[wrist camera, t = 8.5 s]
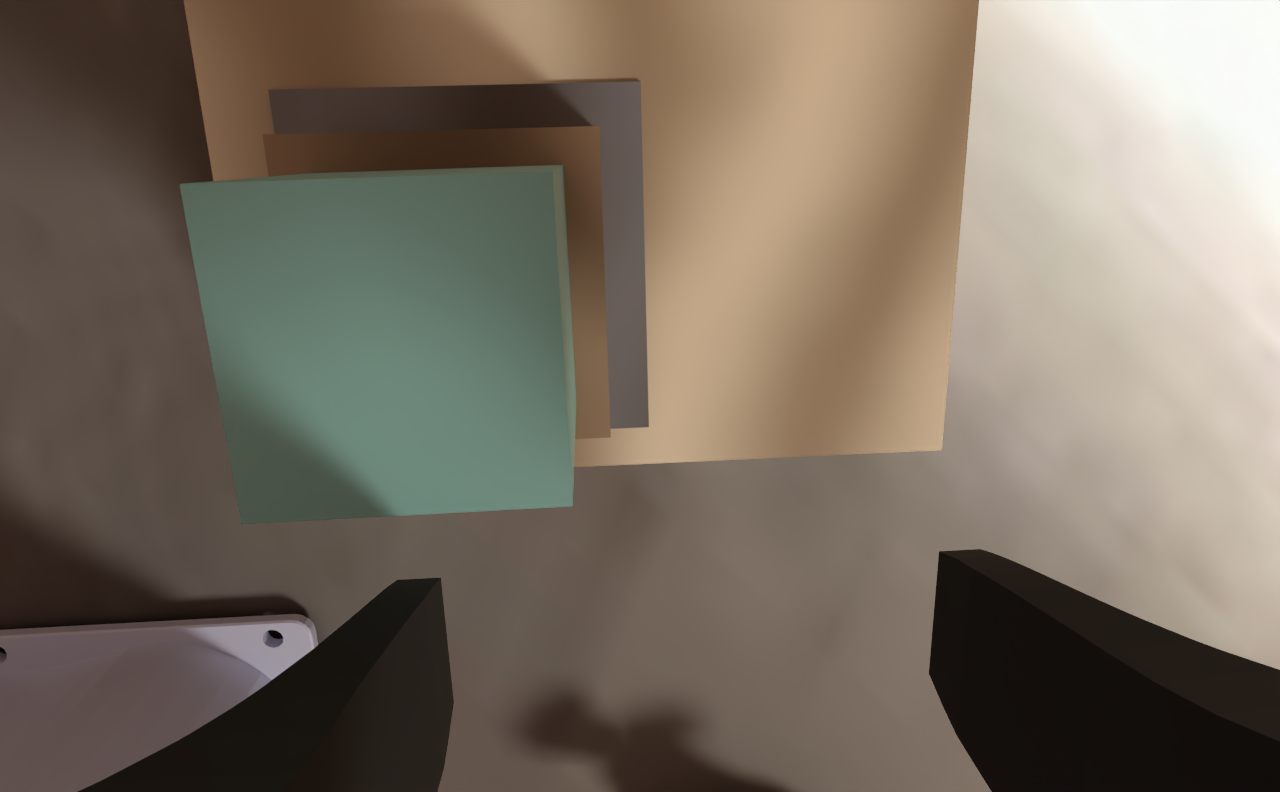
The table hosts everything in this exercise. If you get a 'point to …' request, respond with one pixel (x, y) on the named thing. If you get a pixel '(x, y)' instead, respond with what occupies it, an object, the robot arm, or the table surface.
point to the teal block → (390, 339)
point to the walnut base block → (497, 150)
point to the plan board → (680, 185)
